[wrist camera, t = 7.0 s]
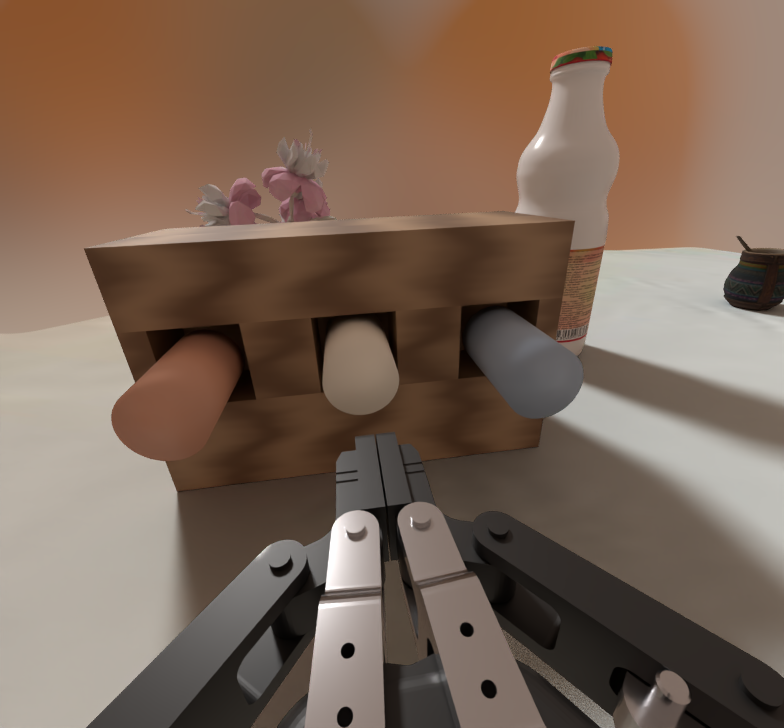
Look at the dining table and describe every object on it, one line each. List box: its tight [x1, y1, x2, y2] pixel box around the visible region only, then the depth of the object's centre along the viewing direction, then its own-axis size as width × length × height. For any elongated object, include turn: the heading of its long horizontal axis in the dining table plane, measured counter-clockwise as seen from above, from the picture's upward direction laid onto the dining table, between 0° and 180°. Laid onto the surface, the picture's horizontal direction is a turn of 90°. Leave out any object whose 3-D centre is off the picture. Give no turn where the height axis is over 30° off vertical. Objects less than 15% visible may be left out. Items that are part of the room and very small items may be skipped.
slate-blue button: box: [463, 306, 583, 419], centre depth 22 cm, size 7×4×4 cm, turn 8°
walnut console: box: [84, 211, 575, 491], centre depth 28 cm, size 26×10×16 cm, turn 98°
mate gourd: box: [723, 236, 784, 310], centre depth 53 cm, size 7×8×10 cm
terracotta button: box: [111, 329, 244, 461], centre depth 20 cm, size 7×4×4 cm, turn 8°
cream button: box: [322, 313, 399, 415], centre depth 23 cm, size 7×4×4 cm, turn 8°
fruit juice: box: [515, 46, 619, 356], centre depth 39 cm, size 9×9×28 cm
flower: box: [185, 129, 337, 227], centre depth 55 cm, size 20×22×25 cm
